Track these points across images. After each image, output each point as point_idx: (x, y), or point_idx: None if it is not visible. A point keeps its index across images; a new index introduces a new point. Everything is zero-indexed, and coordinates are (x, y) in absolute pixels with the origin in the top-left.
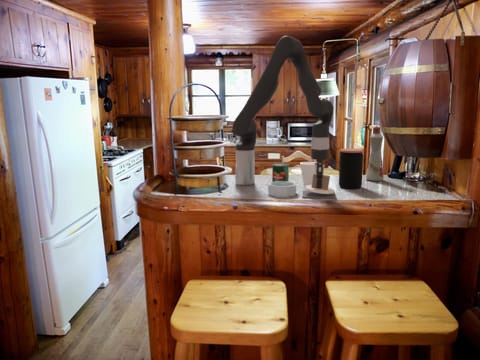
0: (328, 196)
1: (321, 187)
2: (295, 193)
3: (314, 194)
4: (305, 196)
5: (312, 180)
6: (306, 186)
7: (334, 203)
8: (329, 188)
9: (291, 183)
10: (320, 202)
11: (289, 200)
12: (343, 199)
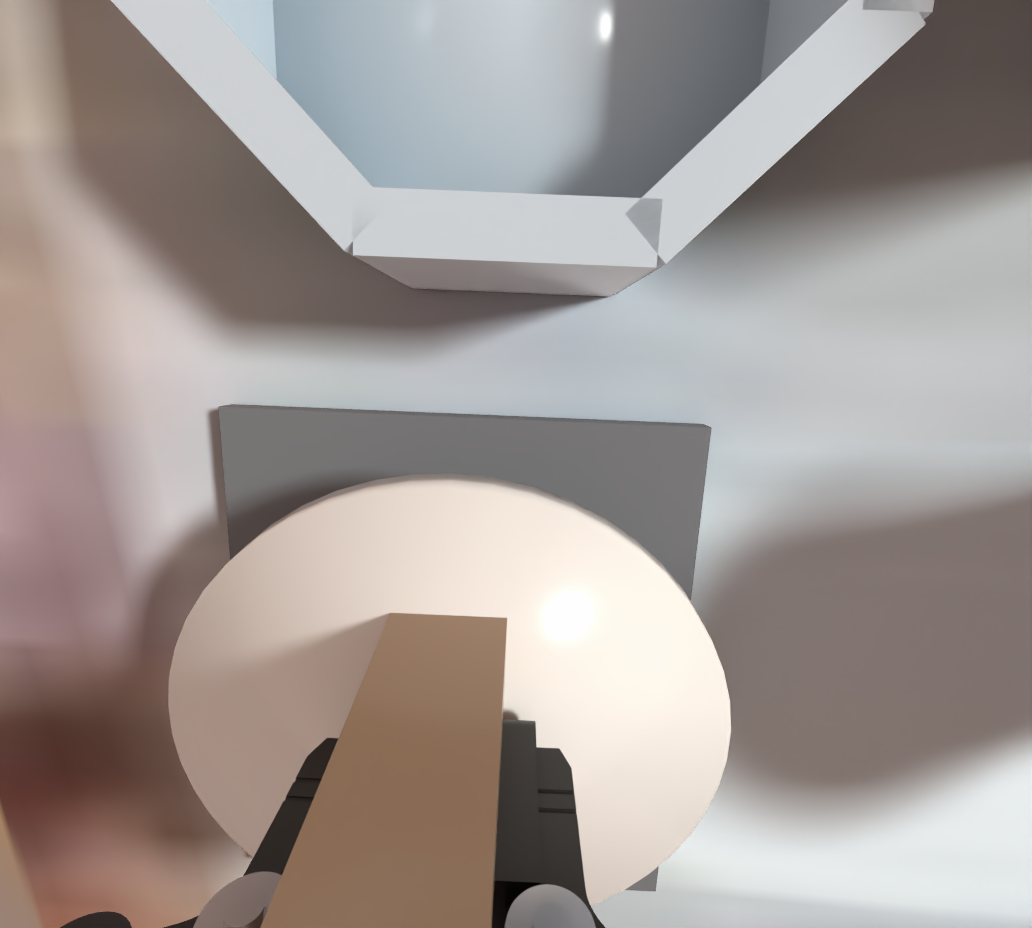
0: None
1: None
2: (395, 279)
3: None
4: (238, 458)
5: (403, 739)
6: (463, 519)
7: (22, 809)
8: None
9: (712, 130)
10: (23, 651)
11: (12, 174)
12: None
